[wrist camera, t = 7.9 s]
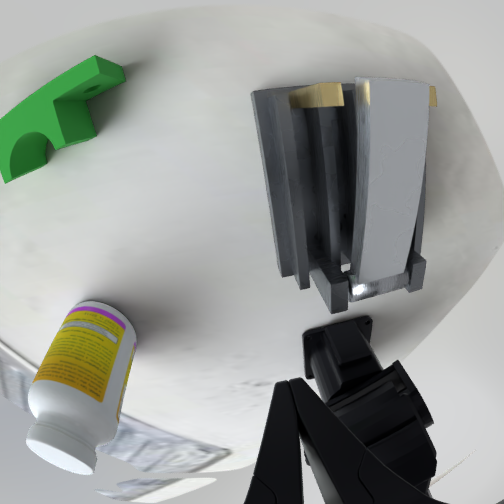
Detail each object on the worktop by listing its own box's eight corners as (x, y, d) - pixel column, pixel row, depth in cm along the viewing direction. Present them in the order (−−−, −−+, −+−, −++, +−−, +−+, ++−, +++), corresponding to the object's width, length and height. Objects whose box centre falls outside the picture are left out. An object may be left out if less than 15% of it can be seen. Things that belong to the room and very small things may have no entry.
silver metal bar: (391, 274, 17) (404, 293, 16) (341, 287, 17) (351, 308, 16) (414, 79, 10) (439, 86, 8) (344, 76, 10) (366, 81, 8)
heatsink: (398, 241, 21) (448, 286, 15) (278, 266, 21) (300, 329, 15) (394, 85, 16) (460, 84, 10) (250, 93, 16) (268, 80, 10)
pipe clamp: (17, 183, 16) (-20, 203, 12) (3, 141, 14) (-36, 153, 10) (138, 117, 16) (112, 119, 12) (123, 66, 14) (93, 54, 10)
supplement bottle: (57, 301, 21) (-8, 421, 9) (121, 293, 21) (68, 440, 9) (89, 356, 24) (52, 471, 12) (149, 353, 24) (127, 486, 12)
